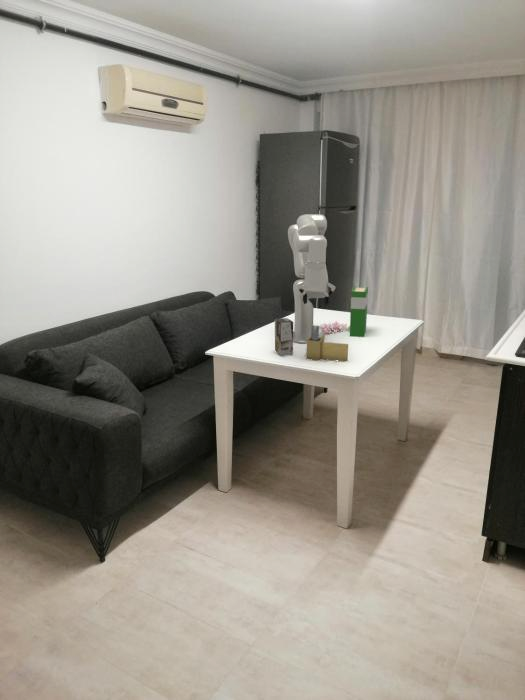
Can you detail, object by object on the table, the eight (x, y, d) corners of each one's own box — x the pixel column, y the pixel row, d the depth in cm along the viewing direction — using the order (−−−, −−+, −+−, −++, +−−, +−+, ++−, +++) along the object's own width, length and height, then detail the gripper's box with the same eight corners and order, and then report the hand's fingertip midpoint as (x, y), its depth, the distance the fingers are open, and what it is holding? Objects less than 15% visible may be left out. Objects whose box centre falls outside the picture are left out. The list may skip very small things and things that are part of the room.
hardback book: (352, 328, 307) (354, 286, 301) (366, 329, 306) (368, 286, 299) (349, 336, 291) (351, 291, 284) (363, 337, 289) (365, 292, 283)
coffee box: (293, 355, 257) (293, 321, 252) (280, 356, 255) (280, 322, 251) (287, 350, 265) (287, 317, 261) (274, 351, 263) (274, 318, 259)
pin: (310, 358, 251) (310, 326, 247) (312, 356, 254) (312, 325, 250) (317, 359, 250) (317, 327, 246) (319, 357, 253) (319, 325, 249)
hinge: (306, 359, 250) (306, 340, 248) (317, 349, 266) (317, 331, 264) (345, 363, 244) (346, 343, 241) (354, 352, 260) (354, 334, 258)
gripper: (295, 266, 240) (294, 304, 245) (334, 268, 234) (332, 307, 239) (300, 264, 247) (299, 301, 252) (338, 265, 241) (336, 304, 246)
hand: (315, 304), depth 245 cm, fingers open, 9 cm apart
